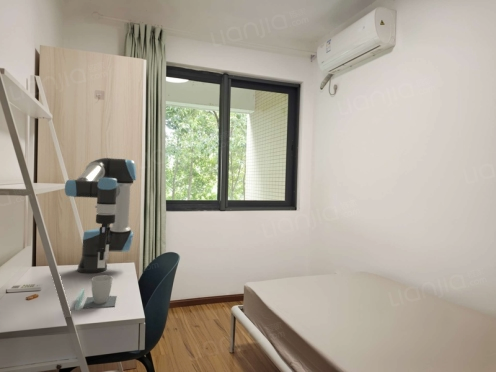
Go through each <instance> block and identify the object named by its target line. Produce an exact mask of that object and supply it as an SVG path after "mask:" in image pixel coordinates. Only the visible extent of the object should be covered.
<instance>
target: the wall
mask: <svg viewBox="0 0 496 372" xmlns="http://www.w3.org/2000/svg"><path fill="white" fill-rule="evenodd" d="M84 299H85V288H81V289H80V292H79V293H78V295H77V298H76V299H75V307H74V309H75V311H79V309H80V306H81V304H82V302H83V300H84Z"/></svg>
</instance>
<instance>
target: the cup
mask: <svg viewBox="0 0 496 372" xmlns="http://www.w3.org/2000/svg"><path fill="white" fill-rule="evenodd" d="M112 285H113V276H111V275H104V274H103V275H96V276H93V277H92V278H91V295H92V297H93V299H94V303H97V304H101V303H105V302H107V300H108V298H109V296H111V289H112Z"/></svg>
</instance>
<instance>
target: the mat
mask: <svg viewBox="0 0 496 372" xmlns="http://www.w3.org/2000/svg"><path fill="white" fill-rule="evenodd" d="M117 296H118V295H109V298H108V300H107V302H105V303H101V304H97V303H94V299H93V296H90V297H89V296H88V297H86V299H85V301H84V303H83V306H82V309H83V310H84V309H85V310H86V309H99V308H100V309H102V308H103V309H104V308H115V307H116V301H117Z"/></svg>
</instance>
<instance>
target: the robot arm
mask: <svg viewBox="0 0 496 372" xmlns="http://www.w3.org/2000/svg"><path fill="white" fill-rule="evenodd" d="M136 180H137V167H136V163H135V161H134V160H133V159H127V158H113V157H111V158H110V157H103V158H98V159H95V160H93V161H91V162H89V163H88V165H86V167H85V169H84V172H83V173H82V174H80V175H79V176H78V178H77V179H68V180H66V181H65V184H64V193H65V195H66V197H73V198H93V199H95V198H96V205H95V206H94V208H95V209H96V213H97V214H95V224H99V225H100V224H101V226H100V227H99V228H93V229H88V230H85V231H84V232H83V235H82V248H81V252H82V253H81V258H80V261H79V263H78V266H77V272H79V273H83V274H96V273H97V274H98V273H102V272H106V271H107V269H108V264H107V260H109V252H113V253H114V252H117V253H118V252H121V253H123V252H129V251H130V250H131V246H132V243H133V237H134V231H132V228H131V227H130V226H129V220H130V218H129V217H130V202H131V201H130V198H131V197H130V196H131V186H132V185H133V184H134V181H136ZM110 225H112V226H110Z"/></svg>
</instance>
